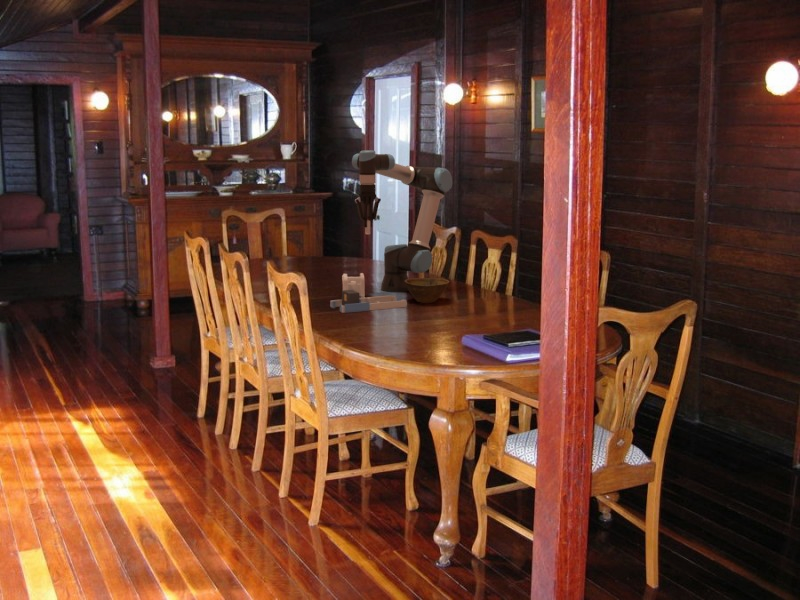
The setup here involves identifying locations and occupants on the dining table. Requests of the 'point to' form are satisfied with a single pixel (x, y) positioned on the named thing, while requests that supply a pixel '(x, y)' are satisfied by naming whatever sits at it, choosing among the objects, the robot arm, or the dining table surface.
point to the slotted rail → (370, 304)
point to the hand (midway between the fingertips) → (367, 234)
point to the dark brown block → (349, 297)
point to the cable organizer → (354, 284)
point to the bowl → (426, 288)
